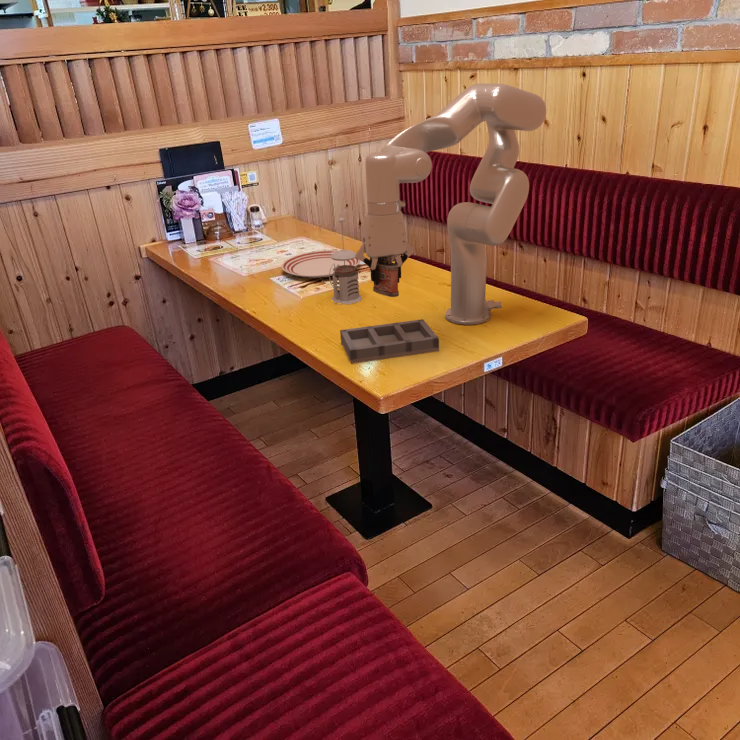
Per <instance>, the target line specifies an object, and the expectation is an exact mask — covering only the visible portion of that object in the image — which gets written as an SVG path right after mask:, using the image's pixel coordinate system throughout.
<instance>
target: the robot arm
mask: <svg viewBox="0 0 740 740" xmlns="http://www.w3.org/2000/svg"><path fill="white" fill-rule="evenodd" d="M546 116H547V105H546V103H545V101H544V99H543V98H542V97H541V96H540V95H538V94H536V93H533V92H529V91H527V90H523V89H521V88H517V87H515V86H513V85H509V84H503V83H475V84H472V85H469V86H468V87H467V88H465V89H464V90H463V91H462V92H460V93H459V94H458V95H457V96H456V97H455V98H454V99H452V100H451V101H450V102H449V103H448V104H447V105H445V107H443V109H441V110H440V111H439V112H438V113H437V114H435V115H433V116H430V117H429V118H426V119H424V120H422V121H420V122H418V123H416V124H414V125H412V126H409V127H407V128H406V129H403V130H402V131H401V132H399V133H398V134H397V135H395V136H394V137H393V138H391V140H390V141H388V142H387V143H386V145H384V146H383V148H382V149H381V150H380V151H379V152H378V151H377V152H372V153H370V154H368V155H367V156H366V157H365V161H364V162H365V165H364V166H365V182H366V183H365V184H366V203H367V204H366V205H367V206H366V207H367V213H364V214H363V222H362V244H361V246H360V247H359V249H358V250H357V252H356V258H357V259H359V260H360V262H362V263H363V264H365V265H366V266H367V267H368V268H370V269H369V271H370V272H369V273H370V281H371V282H373V285H374V284H375V285H378V284H379V282H378V269H377V268H376V264H377V259H378V257H385V256H391V255H394V256H395V257H396V261H394V263H395V264H397V265H399V269H398V284H399V283H400V279H402V266H403V264H404V263H405V262H406V261H407V259H408V258H409V257H410V256H412V255H413V254H414V253H415V249H414V248H413V246H412V245H411V244H410V243H409V242H408V240H407V234H406V226H405V221H404V220H405V219H404V214H403V212H402V211H401V210H402V208H406V201H405V200H401V199H400V184H414V183H420V182H422V181H424V180H425V179H427V177H429V175H430V174H431V172H432V168H433V164H432V163H433V162H432V159H431V156H429V154H428V153H429V152H433V151H438V150H443V149H447V148H451V147H453V146H455V145H458V144H459V143H460V142H461V141H462V140H463V139H465V138H466V137H467V136H468V135H469V134H471V132H472V131H473V130H475V129H476V128H477V127H478V126H479V125H480V124H481V123H483V122H486V126H487V131H488V132H487V133H488V144H487V148H486V149H485V152H484V154H483V156H482V158H481V161H480V162H479V164H478V166H477V169H475V172H474V174H473V176H472V178H471V182H470V185H469V192H470V193H469V194H470V196H471V197H472V198H473V199H474V200H476V201H479V202H481V203H486V204H491V206H489V205H485V204H480V203H475V202H470V201H467V202H460V203H457V204H455V205H454V206H453V207H452V208H451V209H450V211H449V212H448V215H447V220H446V224H447V225H446V226H447V232H448V237H449V245H450V308H447V310H446V311H445V313H444V317H445V319H446V320H447V321H449V322H451V323H452V324H457V325H465V326H467V325H469V326H473V325H478V324H482V323H485V322H487V321H489V320H490V318H491V311H492V310H494V309H495V310H496V309H502V308H503V303H502V301H501V300H500V301H495V300H494V299H491V300H487V299H486V294H487V293H486V292H487V291H486V290H487V289H486V285H487V261H488V260H487V259H488V257H487V249H486V248H485V246H486V245H487V246H491V247H494V246H495V247H496V246H499V245H501V244H503V243H504V242H505V241H506V240H507V239H508V237H509V235H510V233H511V231H512V230H513V227H514V226H515V224H516V222H517V219H518V218H519V215H520V214H521V212H522V209H523V207H524V205H525V203H526V202H527V199H528V195H529V191H530V181H529V178H528V176H527V174H526V173H525V172H524V171H523V170H520V169H519V168H515V166H516V163H517V161H518V159H519V156H520V155H519V154H520V145H519V141H518V138H517V134H516V131H524V132H532V131H535V130H538V129H539V128H540V127H541V126H542V125H543V124H544V122H545V120H546ZM365 254H366V256H367V257H366V256H364V255H365Z"/></svg>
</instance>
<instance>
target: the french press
mask: <svg viewBox="0 0 740 740" xmlns="http://www.w3.org/2000/svg"><path fill="white" fill-rule="evenodd" d="M345 222H346V221H345V218H344V217H340V218H338V223H341V225H343V223H345ZM343 231H344V229H343V227H341V234H342V235H341V237H342V240H344V232H343ZM336 251H337V252H335V253H333V254H332V255H331V258H332V259H333V260H337V261H344V265H341V266H339V264H337V266H336V267H335V264H334V267H335V268H334V269H333V271H334V273H333V276H332V281H331V277H330V273H329V277H328V278H329V282H330V285H331V286H332V287H333V296H332V297H331V299H332V300H333V301H334V302H336V303H341V304H340V305H342V304H345V305H352V303H354V304H357V303H360V302H361V301H363V299H362V297H363V296H362V295H361V294H360V293H359V292H360V289H359V287H360V285H359V272H358V271H357V269H358V266H356V267H355V266H353V265H345V260H351V259H354V258H356V254H357V252H355V251H353V250H351V249H350V250H349V249H345V245H344V242H342V249H340V250H336ZM332 266H333V265H332ZM332 266H331V268H332ZM331 268H330V271H331ZM360 300H361V301H360ZM359 301H360V302H359ZM356 302H357V303H356ZM336 303H335V304H336Z"/></svg>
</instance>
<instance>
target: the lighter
mask: <svg viewBox="0 0 740 740" xmlns="http://www.w3.org/2000/svg"><path fill="white" fill-rule="evenodd" d="M395 261H396V257H395V256H394V255H391V256H385V257H378V259H377V264H376V268H377V269H378V282H379V284H378V285H375V284H374V283H373V287H372V291H373V292H375V293H377V294H378V295H382V296H386V297H390V298H396V297H398V296H399V295H400V292H399V283H398V269H399V265H397V264H395Z"/></svg>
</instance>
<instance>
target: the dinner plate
mask: <svg viewBox="0 0 740 740" xmlns="http://www.w3.org/2000/svg"><path fill="white" fill-rule="evenodd" d="M337 251H338V250H316V251H310V252H305V253H300V254H298V255H295V256H292V257H289V258H287V259H286V260H285V261H283V262H282V264H281V269H282V271H283V272H285V273H287V274H290V275H293V276H298V277H301V278H306V277H308V278H307V279H322V278H321V277H326V278H329V273H330V276H332V277H333V273H334V271H333V269H334V268H335V267H336V266H337V264H339V266H341V265H344V261H337V260H333V259H332V258H331V255H332V254H333V253H335V252H337ZM360 263H361V261H360V260H359V259H357V258H354V259H351V260H345V265H353V266H355V267H358V265H359V264H360ZM334 264H335V267H334ZM332 265H333V266H332ZM331 266H332V268H331ZM330 268H331V271H330Z"/></svg>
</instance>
